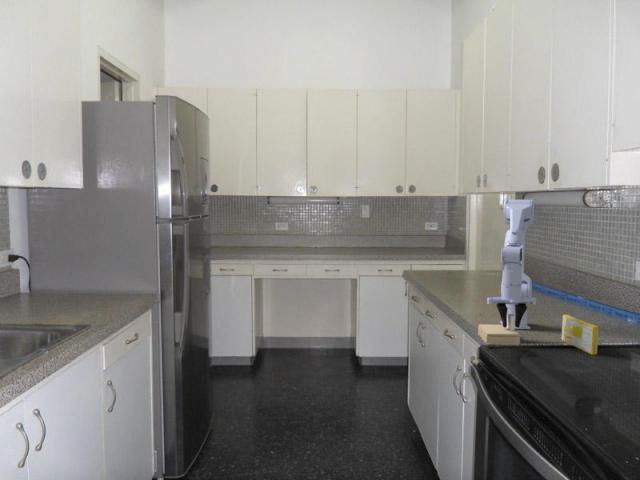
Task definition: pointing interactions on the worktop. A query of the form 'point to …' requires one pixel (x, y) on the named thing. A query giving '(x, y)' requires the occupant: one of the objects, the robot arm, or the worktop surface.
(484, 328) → the lid
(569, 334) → the candy box
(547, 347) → the worktop surface
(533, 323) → the worktop surface
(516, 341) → the beige shallow box
